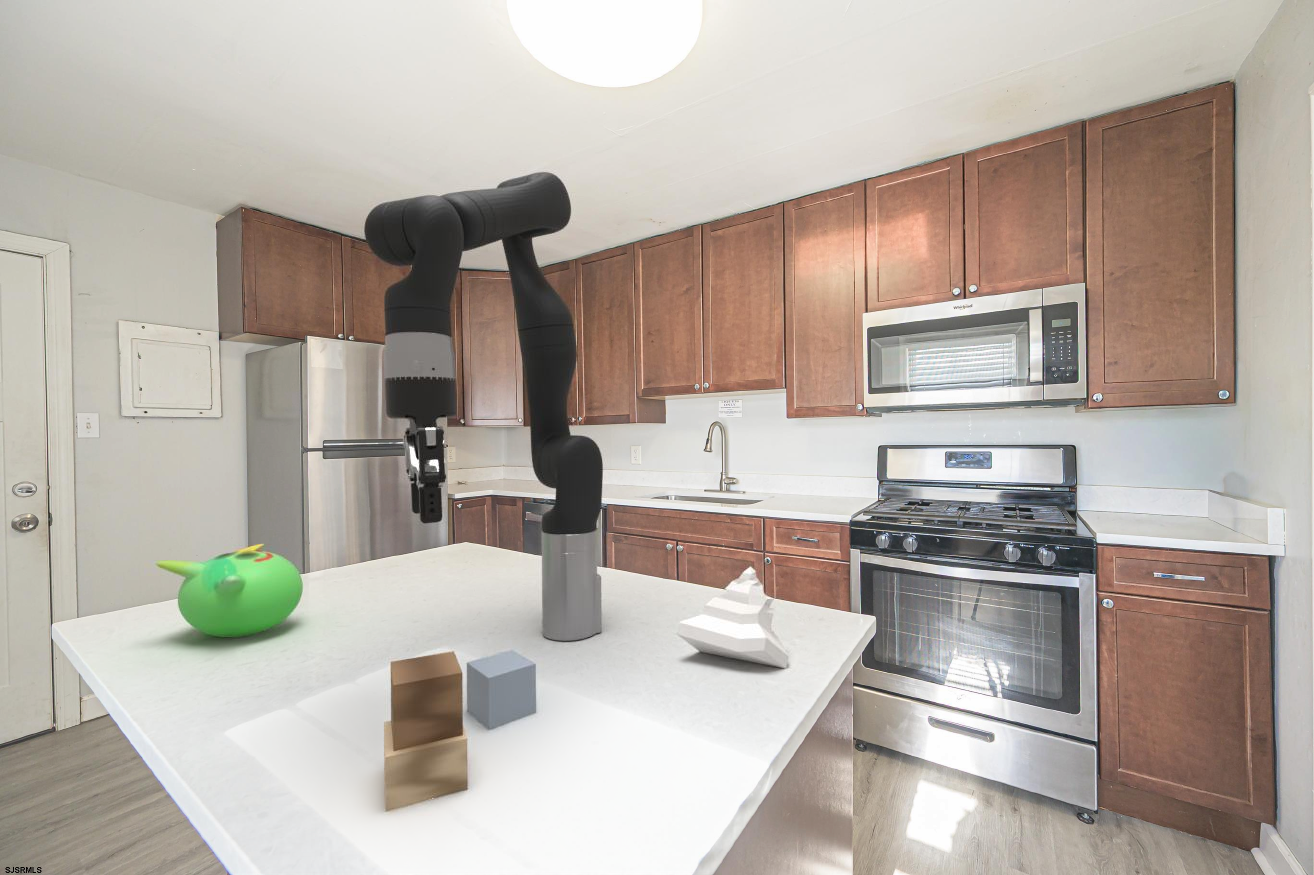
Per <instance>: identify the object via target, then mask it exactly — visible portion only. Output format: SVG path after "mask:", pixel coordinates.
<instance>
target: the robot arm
mask: <svg viewBox="0 0 1314 875" xmlns="http://www.w3.org/2000/svg"><path fill="white" fill-rule="evenodd" d="M571 204H572V203H571V200H570V196H569V192H568V190H567V188H566V186H565V184H564V182H563V181H562V180H561V179H560V178H559V177H558V176H557V175H555V173H552V172H547V171H540V172H539V171H538V172H534V173H530V174H527V175H522V176H520V177H513V178H510V179H507V180H505V181H502V182H500V183H499V184H498V185H497V186H496V188H495V187H494V188H483V189H482V188H480V189H473V190H472V189H471V190H464V191H463V190H462V191H456V192H450V193H445V194H441V195H439V196H438V195H431V194H429V195H427V194H426V195H421V196H415V197H409V198H404V199H403V198H402V199H398V200H392V201H387V202H382V203H379V204H378V205H376V206H374V208H372V209H371V210H370V212H369V213H368V215H367V216H366V219H365V222H364V229H363V230H364V231H363V232H364V237H365V241H366V243H367V245H368V247H369V249H370V251H372V253H373V254H374V255H375V256H376V257H377V258H379V259H380V260H381V261H383V262H384V263H386V264H389V265H391V266H395V267H410V266H411V269H410V271H409V273H408V275H407V276H406V277H405V278H402V279H401V280H399V281H397V282H395V283H392V284H391V285H389V286H388V287H387V288H386V290H385V293H384V299H383V301H384V302H383V303H384V305H383V306H384V307H383V308H384V332H385V340H384V341H385V343H384V350H383V365H384V367H383V370H384V392H385V394H384V395H385V413H386V416H387V417H388V419H394V420H395V419H400V420H401V419H406V420H408V422H409V427H406V428H405V430H404V434H403V435H402V436H403V437H402V440H403V441H402V442H403V443H402V445H403V450H404V452H405V453H404V463H405V468H406V470H405V471H406V474H407V479H408V480H409V482H410V498H411V511H412V513H414V514H416V515H417V514H418V515H419V520H420V522H421V523H422V524H434V523H440V522H442V520H443V502H442V500H443V499H442V498H443V497H442V488H443V486H444V484H445V483H446V480H447V474H446V469H445V468H446V466H445V464H446V459H445V446H444V445H445V438H444V435H445V430H444V429H443V428H444V427H443V426H438V423H437V420H438V419H444V418H447V419H448V418H454V417H455V416H456V415H457V414H458V409H457V406H458V405H457V383H456V382H457V379H456V377H457V376H456V359H455V352H454V346H453V338H452V336H453V335H452V315H451V314H452V312H451V309H452V308H451V303H452V297H453V294H454V290H455V286H456V281H457V276H458V273H459V268H460V265H461V260H462V256H463V252H468V251H472V250H476V249H478V248H481V247H484V246H487V245H490V244H493V243H495V242H496V243H497V242H499V241H501V243H502V247H503V251H504V255H505V260H506V264H507V268H508V273H509V280H510V284H511V289H512V296H513V302H514V304H513V305H514V310H515V318H516V327H517V328H516V329H517V334H518V343H519V349H520V356H521V359H522V360H521V361H522V364H523V365H522V366H523V371H524V379H525V388H526V394H527V395H526V396H527V401H528V402H527V403H528V409H529V424H530V426H529V428H530V430H529V431H530V453H531V463H532V469H533V472H534V474H535V476H536V478H537V479H538V481H539V482H540V483H541V484H542V485H543V486H545V487H547V488H550V489H555V500H554V505H553V507H552V508H551V509H550V510H549V511H546V512H544V513H543V514H542V516H541V601H542V602H541V603H542V604H541V605H542V606H541V608H542V609H541V610H542V611H541V624H542V630H541V631H542V635H543V636H544V637H545V638H547V639H548V640H549V639H550V640H554V641H561V642H562V641H565V642H566V641H579V640H582V639H588V638H589V637H591V636H594V635H596V634H599V633H602V629H603V628H602V625H603V624H602V622H603V621H602V618H603V617H602V616H603V615H602V605H603V604H602V576H601V575H600V574H599V573H598V547H597V546H598V538H597V537H598V534H597V533H598V525H597V524H598V518H599V516H600V514H601V511H602V503H603V502H602V501H603V499H602V498H603V476H604V473H603V472H604V464H603V457H602V456H603V455H602V453H601V450H600V447H599V445H598V444H597V443H596V442H595V440H594V439H592V438H590V437H589V436H586V435H585V436H584V435H578V434H576V435H573V434H571V430H570V423H569V418H568V398H569V394H570V389H571V384H572V381H573V379H574V375H575V371H576V366H577V361H578V360H577V359H578V347H577V346H578V345H577V340H576V339H577V338H576V332H575V326H574V325H575V324H574V319H573V315H572V313H571V310H570V308H569V306H567V304H566V303H565V301H564V299H563V298H562V297H561V296H560V294H558V292H557V291H556V290H555V289H554V287H553V286H552V285H551V284H550V283H549V281H548V280H547V278H546V277H545V276H544V274H543V272H542V269H540V266H539V264H538V262H537V259H536V254H535V250H534V245H533V238H537V237H542V236H547V235H551V234H555V233H557V232H560V231H562V230H563V229H565V228H566V227H567V225H568V224H569V223H570V219H571V216H572V206H571Z"/></svg>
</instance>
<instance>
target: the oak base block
mask: <svg viewBox="0 0 1314 875" xmlns="http://www.w3.org/2000/svg"><path fill="white" fill-rule="evenodd" d="M383 742H384V744H383V748H384V749H383V750H384V752H383V757H384V759H383V761H384V763H383V764H384V768H383V769H384V771H385V772H384V802H385V803H384V804H385V807H384V808H385V812H389V811H393V810H396V809H401V808H404V807H407V806H411V805H412V806H413V805H415V804H420V803H422V802H423V803H424V802H426V800H427V801H430V800H429V799H431V800H433V799H432V798H434V799H437V798H441V797H444V796H445V795H446V796H448V795H452V794H456V793H461V792H463V791H467V790H468V787H469V786H468V784H469V782H468V781H469V780H468V779H469V778H468V775H469V774H468V772H469V771H468V767H469V766H468V736H467V733H466V730H465V727H464V725H463V735H462V736H457V737H453V738H449V739H444V740H440V741H436V742H432V743H427V744H423V745H419V746H415V747H410V748H406V749H402V750H397V751H393V739H392V727H391V720H388V721H384V722H383Z"/></svg>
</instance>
